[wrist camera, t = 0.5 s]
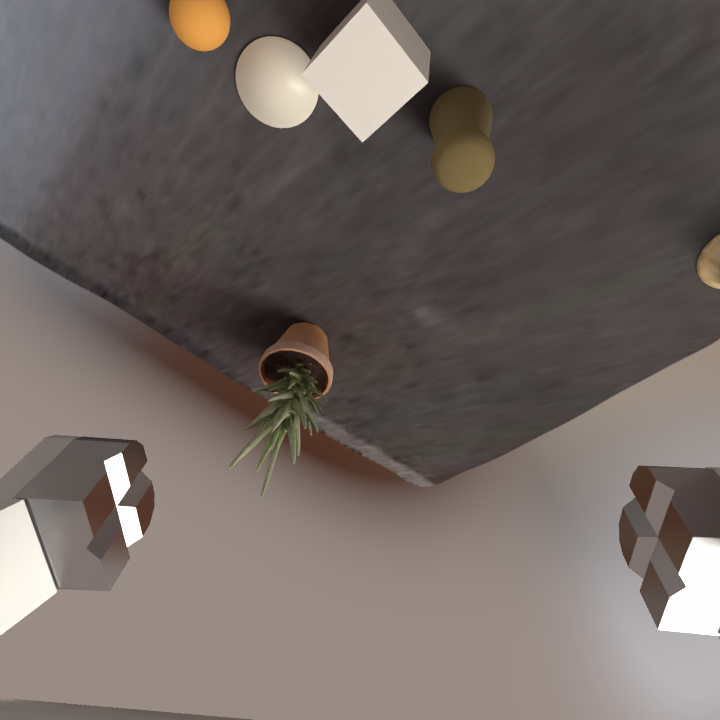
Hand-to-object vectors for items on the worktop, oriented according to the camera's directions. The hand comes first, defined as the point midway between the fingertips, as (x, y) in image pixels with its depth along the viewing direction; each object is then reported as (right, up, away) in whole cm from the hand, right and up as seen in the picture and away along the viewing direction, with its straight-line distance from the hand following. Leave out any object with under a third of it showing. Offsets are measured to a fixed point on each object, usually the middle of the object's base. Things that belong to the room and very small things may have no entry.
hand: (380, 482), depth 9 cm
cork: (+9, +25, +42) cm, 50 cm away
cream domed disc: (-8, +28, +41) cm, 51 cm away
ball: (-14, +31, +36) cm, 50 cm away
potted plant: (-8, +5, +64) cm, 65 cm away
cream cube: (+1, +30, +38) cm, 49 cm away
